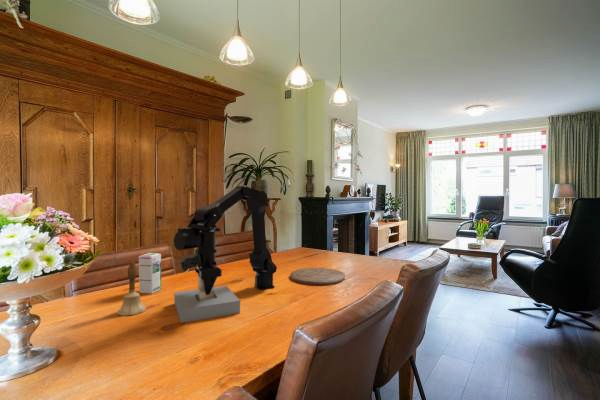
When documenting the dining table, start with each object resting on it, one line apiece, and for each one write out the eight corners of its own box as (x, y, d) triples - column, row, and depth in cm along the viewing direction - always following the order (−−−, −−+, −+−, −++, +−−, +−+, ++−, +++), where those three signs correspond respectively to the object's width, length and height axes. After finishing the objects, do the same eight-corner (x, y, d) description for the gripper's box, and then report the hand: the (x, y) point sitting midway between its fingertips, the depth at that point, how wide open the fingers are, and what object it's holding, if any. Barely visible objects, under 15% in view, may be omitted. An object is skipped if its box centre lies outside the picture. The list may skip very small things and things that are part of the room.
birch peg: (211, 298, 108) (211, 272, 108) (214, 302, 104) (214, 275, 104) (198, 300, 106) (198, 274, 106) (200, 304, 102) (200, 277, 102)
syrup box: (152, 293, 119) (152, 255, 119) (138, 292, 120) (138, 255, 120) (161, 289, 125) (161, 253, 124) (148, 288, 126) (148, 252, 125)
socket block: (226, 296, 117) (226, 285, 117) (240, 312, 101) (240, 300, 101) (174, 303, 109) (174, 292, 109) (180, 323, 93) (180, 309, 93)
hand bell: (126, 306, 106) (126, 259, 106) (150, 306, 106) (150, 259, 106) (111, 315, 98) (110, 264, 98) (137, 316, 98) (137, 265, 97)
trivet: (353, 276, 148) (353, 272, 148) (329, 289, 127) (329, 285, 127) (308, 269, 161) (308, 265, 161) (279, 280, 140) (279, 276, 140)
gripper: (177, 243, 109) (177, 288, 109) (184, 252, 92) (184, 305, 93) (210, 241, 114) (210, 284, 114) (221, 249, 97) (221, 299, 98)
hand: (206, 292), depth 105 cm, fingers closed on birch peg, 4 cm apart
